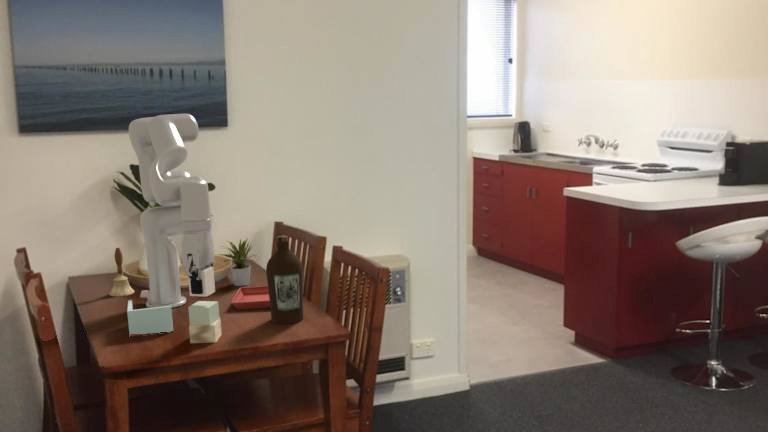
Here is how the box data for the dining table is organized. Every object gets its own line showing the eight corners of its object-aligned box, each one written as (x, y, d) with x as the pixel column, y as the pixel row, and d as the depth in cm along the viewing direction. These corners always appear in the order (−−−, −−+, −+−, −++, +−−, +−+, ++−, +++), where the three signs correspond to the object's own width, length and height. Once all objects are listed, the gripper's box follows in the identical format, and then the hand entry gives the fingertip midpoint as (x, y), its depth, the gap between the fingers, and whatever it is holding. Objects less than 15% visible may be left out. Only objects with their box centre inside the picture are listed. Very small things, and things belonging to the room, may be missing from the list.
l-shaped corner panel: (173, 331, 229) (171, 306, 228) (129, 337, 226) (127, 311, 225) (172, 320, 241) (170, 295, 240) (130, 325, 238) (128, 300, 236)
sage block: (189, 324, 219) (188, 307, 218) (199, 318, 225) (198, 300, 224) (210, 325, 218) (208, 307, 217) (219, 318, 223) (218, 301, 223)
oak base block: (190, 343, 219) (188, 326, 218) (196, 335, 226) (195, 318, 225) (215, 342, 218) (214, 325, 218) (221, 334, 225) (220, 317, 225)
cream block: (189, 296, 218) (187, 270, 217) (198, 291, 223) (196, 266, 222) (206, 296, 217) (204, 271, 215) (215, 291, 221) (213, 267, 220)
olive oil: (267, 316, 240) (261, 234, 236) (302, 312, 243) (297, 231, 239) (272, 326, 230) (266, 241, 226) (308, 322, 233) (303, 238, 229)
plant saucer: (231, 312, 248) (230, 301, 247) (240, 296, 266) (239, 286, 265) (289, 309, 248) (289, 299, 248) (295, 294, 266) (294, 284, 265)
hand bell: (139, 291, 275) (135, 246, 273) (120, 297, 269) (115, 251, 266) (123, 289, 280) (119, 244, 277) (103, 295, 273) (99, 249, 270)
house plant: (228, 278, 289) (225, 233, 287) (266, 277, 288) (263, 233, 285) (215, 288, 276) (211, 242, 273) (254, 288, 274) (251, 241, 271)
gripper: (199, 220, 226) (204, 282, 229) (168, 231, 209) (174, 299, 213) (224, 220, 224) (228, 283, 227) (193, 231, 207) (199, 300, 210)
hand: (202, 290), depth 220 cm, fingers closed on cream block, 5 cm apart
